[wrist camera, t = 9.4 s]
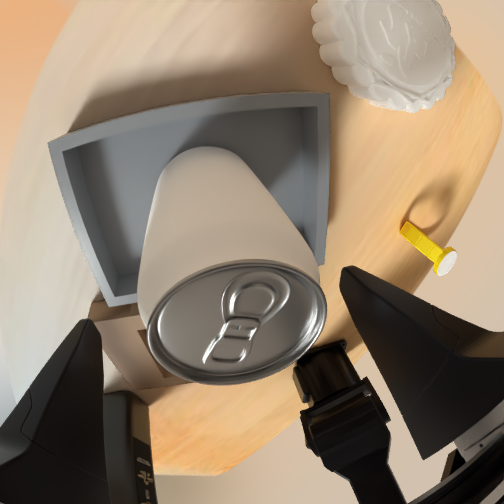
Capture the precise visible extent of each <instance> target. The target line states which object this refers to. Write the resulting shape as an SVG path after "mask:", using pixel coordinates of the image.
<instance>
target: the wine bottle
mask: <svg viewBox="0 0 504 504" xmlns="http://www.w3.org/2000/svg"><path fill="white" fill-rule="evenodd" d="M103 413H104V441H105V456H106V467H107V476H108V483H109V491H110V498H111V504H158V502H157V495H156V488H155V480H154V471H153V461H152V450H151V437H150V421H149V408H148V406H147V405H146V404H145V403H143V402H142V401H141V400H140V399H139V398H137V397H136V396H135V395H134V394H132V393H131V392H127V391H122V392H116V393H111V394H104V395H103Z"/></svg>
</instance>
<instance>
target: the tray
mask: <svg viewBox="0 0 504 504" xmlns="http://www.w3.org/2000/svg"><path fill="white" fill-rule="evenodd" d="M203 146H210V147H218V148H223V149H226V150H229V151H231V152H233V153H235V154H236V155H237V156H239V157H240V158H241V159H242V160H243V161H244V162H245V163H246V164H247V165H248V167H249V168H250V169H251V170H252V171H253V173H254V174H255V175H256V176H257V178H258V179H259V180H260V181H261V183H262V184H263V185H264V186H265V188H266V189H267V190H268V192H269V193H270V194H271V195H272V197H273V198H274V199H275V201H276V202H277V203H278V204H279V206H280V207H281V208H282V210H283V211H284V212H285V214H286V215H287V216H288V218H289V219H290V220H291V222H292V223H293V224H294V226H295V227H296V229H297V230H298V231H299V233H300V234H301V235H302V237H303V238H304V240H305V241H306V243H307V244H308V246H309V248H310V249H311V251H312V253H313V255H314V257H315V259H316V262H317V265H318V266H319V265H324V260H325V248H326V235H327V220H328V201H329V175H330V94H329V93H320V92H310V91H295V92H268V93H253V94H242V95H232V96H223V97H215V98H207V99H201V100H194V101H188V102H182V103H177V104H171V105H166V106H161V107H157V108H152V109H148V110H143V111H139V112H135V113H131V114H127V115H124V116H120V117H116V118H113V119H109V120H106V121H102V122H99V123H96V124H93V125H90V126H87V127H84V128H81V129H78V130H75V131H72V132H69V133H67V134H64V135H62V136H60V137H58V138H56V139H54V140H52V141H50V142H48V147H49V151H50V155H51V159H52V163H53V166H54V170H55V174H56V177H57V180H58V184H59V187H60V190H61V193H62V197H63V200H64V203H65V206H66V208H67V211H68V214H69V217H70V220H71V223H72V225H73V228H74V230H75V233H76V236H77V238H78V241H79V243H80V246H81V248H82V250H83V253H84V255H85V258H86V260H87V262H88V264H89V267H90V269H91V271H92V273H93V276H94V278H95V280H96V282H97V284H98V286H99V288H100V290H101V292H102V294H103V296H104V298H105V300H106V302H107V304H108V306H109V307H113V306H119V305H125V304H130V303H136V302H138V301H137V287H138V277H139V270H140V263H141V256H142V251H143V245H144V239H145V234H146V229H147V224H148V219H149V214H150V210H151V206H152V201H153V197H154V193H155V189H156V186H157V182H158V179H159V177H160V175H161V173H162V171H163V170H164V168H165V167H166V166H167V164H168V163H169V162H170V161H171V160H172V159H173V158H175V157H176V156H177V155H179V154H181V153H182V152H184V151H187V150H189V149H192V148H196V147H203Z"/></svg>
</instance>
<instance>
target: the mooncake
mask: <svg viewBox="0 0 504 504" xmlns="http://www.w3.org/2000/svg"><path fill="white" fill-rule="evenodd" d="M317 1H318V2H317V3H315V4H314V5H313V6H312V8H311V16H312V18H313V20H314V21H315V22H316V23H315V24H314V26H313V28H312V35H313V38H314V39H315V41H316V42H317V43H318V44H320V45H321V46H320V49H319V54H320V57H321V59H322V61H323V62H324V63H325V64H327V65H328V66H331V67H332V74H333V77H334V78H335V80H336V81H337V82H339V83H341V84H343V85H347V86H348V89H349V91H350V93H351V94H352V95H353V96H355V97H357V98H361V99H366V100H367V101H368V102H369V103H370V104H371V105H373V106H378V107H382V108H387V109H391V110H395V111H400V110H402V111H405V112H409V113H416V112H418V111H419V110H420V109H421V108H422V109H430V108H432V107H433V105H434V103H435V100H436V101H438V100H441V99H442V98H443V97H444V96H445V92H446V88H447V87H449V86H450V85H451V83H452V79H453V77H452V71H453V70H454V69H455V66H456V60H455V56H454V51H455V42H454V40H453V38H452V37H451V35H450V33H451V27H450V24H449V22H448V20H447V18H446V17H445V16H444V15H443V11H442V8H441V6H440V4H439V3H438V2H437V1H436V0H317Z"/></svg>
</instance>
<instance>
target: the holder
mask: <svg viewBox="0 0 504 504" xmlns="http://www.w3.org/2000/svg"><path fill="white" fill-rule="evenodd" d="M88 318H89V319H91V320H92V321H93V322H94V324H95V326H96V327H97V329H98V331H99V332H100V334H101V337H102V348H103V350H104V351H105V353H106V354H107V356H108V357H109V358H110V360H111V361H112V363H113V364H114V365H115V367H116V368H117V369H118V371H119V372H120V373H121V375H122V376H123V377H124V379H125V380H126V381H127V382H128V384H129V385H130V386H131V387H132V389H133V390H141V389H151V388H159V387H167V386H174V385H181V384H187V383H194V382H191V381H188V380H185V379H182V378H180V377H178V376H176V375H174V374H172V373H171V372H169V371H168V370H166V369H165V368H164V367H163V366H162V365H160V364H159V362H158V361H157V360H156V359H155V357H154V356H153V354H152V353H151V351H150V348H149V345H148V342H147V329H146V327H145V325H144V323H143V321H142V319H141V316H140V313H139V309H138V302H136V303H130V304H125V305H119V306H113V307H109V306H108V304H107V302H106V300H104V301H98V302H92V303H91V307H90V311H89V314H88Z"/></svg>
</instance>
